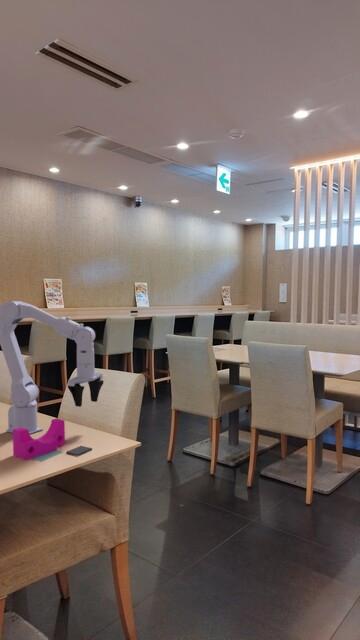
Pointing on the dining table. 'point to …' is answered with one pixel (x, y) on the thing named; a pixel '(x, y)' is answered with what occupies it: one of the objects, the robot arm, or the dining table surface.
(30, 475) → the dining table surface
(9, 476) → the dining table surface
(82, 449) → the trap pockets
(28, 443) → the toy block
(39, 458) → the pad
